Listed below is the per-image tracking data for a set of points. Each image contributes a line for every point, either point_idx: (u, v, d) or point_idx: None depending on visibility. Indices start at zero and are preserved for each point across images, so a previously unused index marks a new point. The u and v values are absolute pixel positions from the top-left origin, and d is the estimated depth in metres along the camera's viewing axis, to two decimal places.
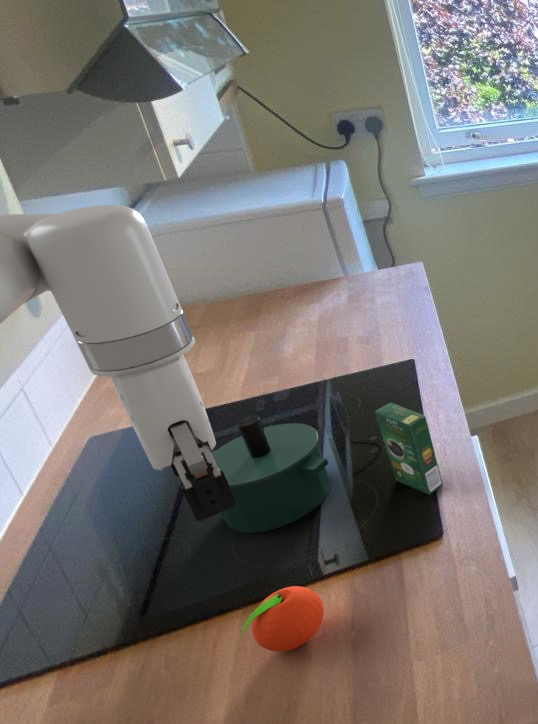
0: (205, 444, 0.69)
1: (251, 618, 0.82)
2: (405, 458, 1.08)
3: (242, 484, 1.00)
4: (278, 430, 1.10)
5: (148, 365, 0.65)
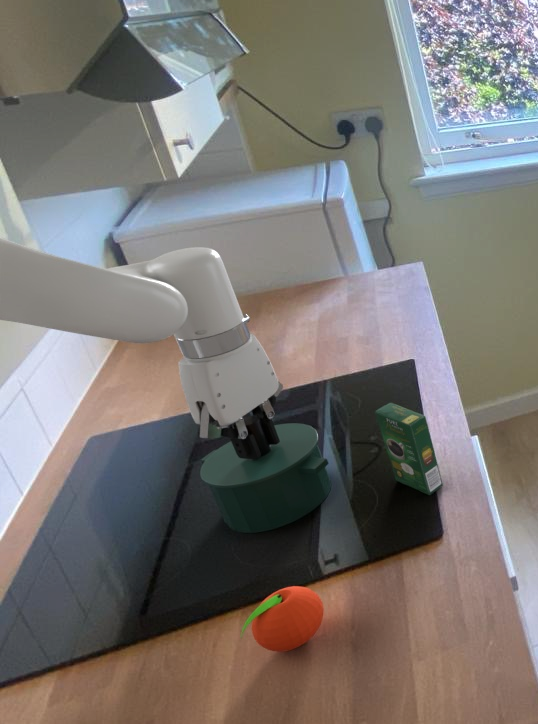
0: None
1: (251, 618, 0.82)
2: (405, 458, 1.08)
3: (242, 484, 1.00)
4: (278, 430, 1.10)
5: (192, 359, 0.95)
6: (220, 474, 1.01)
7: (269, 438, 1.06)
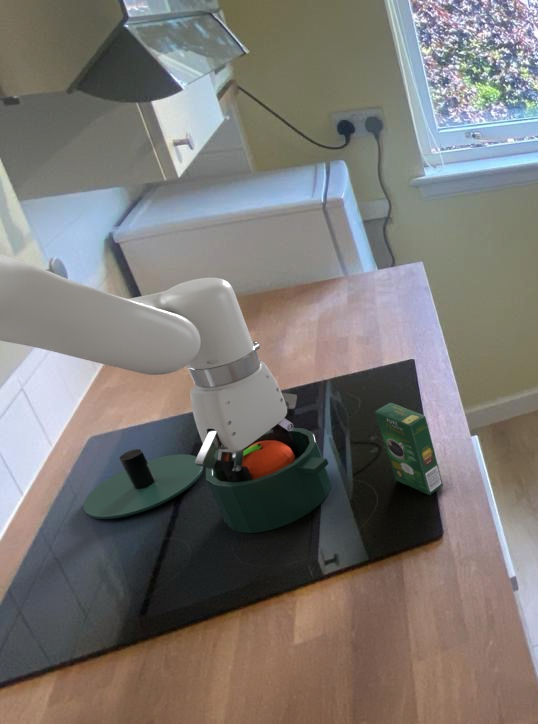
0: None
1: None
2: (405, 458, 1.08)
3: (121, 515, 1.06)
4: (166, 461, 1.17)
5: (203, 388, 0.97)
6: (101, 505, 1.08)
7: None
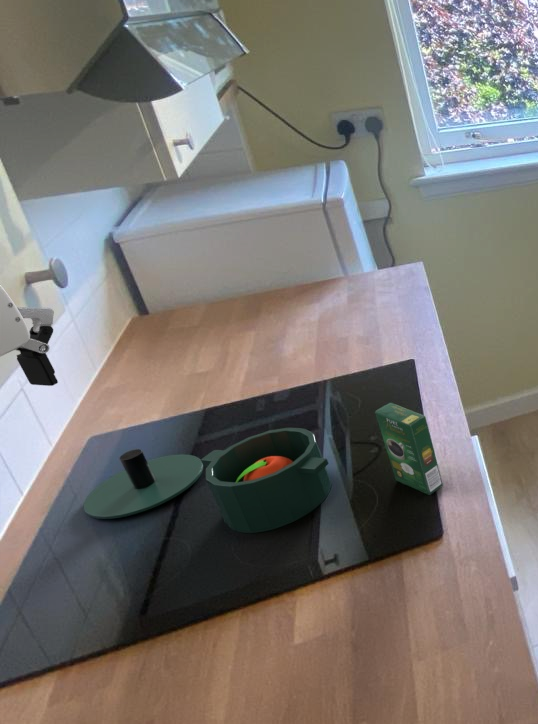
0: None
1: (242, 475, 1.05)
2: (405, 458, 1.08)
3: (121, 515, 1.06)
4: (166, 461, 1.17)
5: None
6: (101, 505, 1.08)
7: (42, 377, 0.86)
